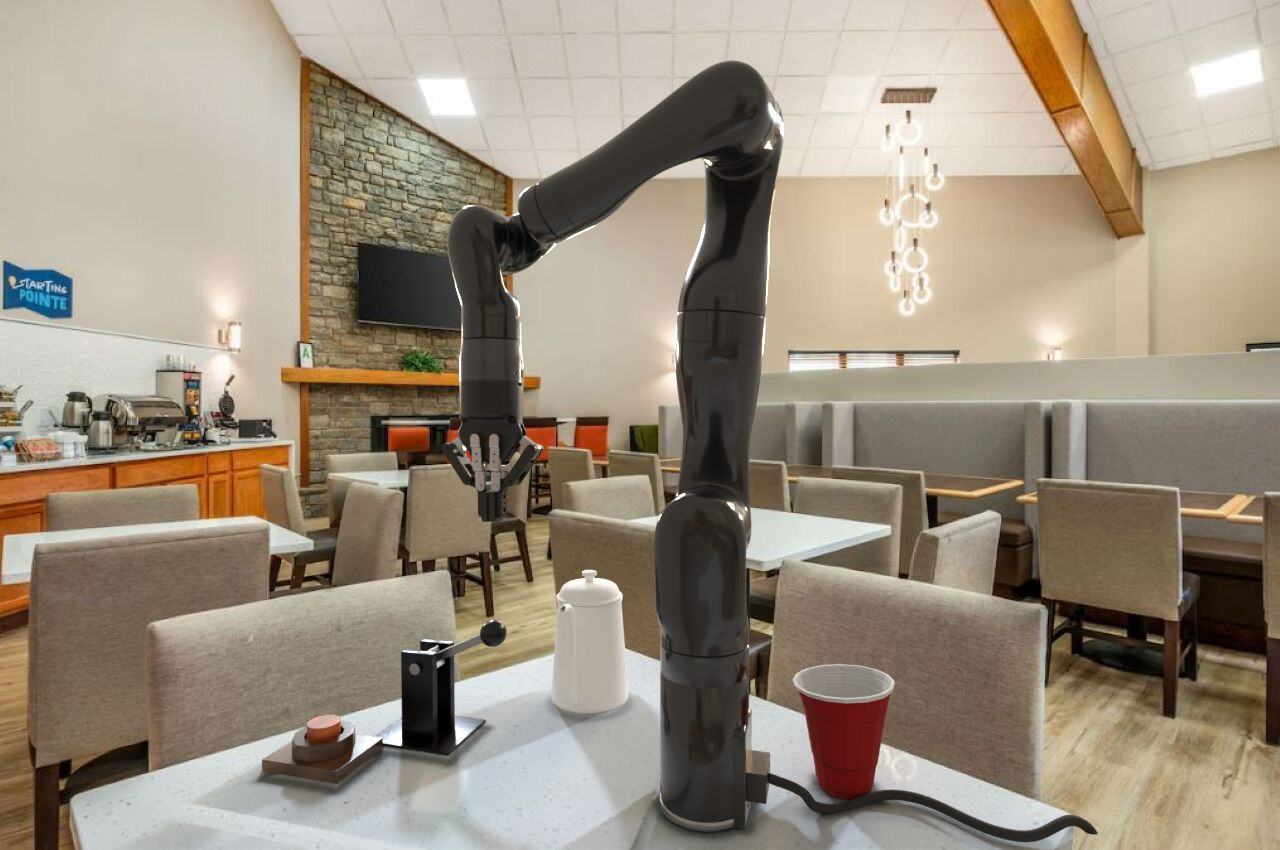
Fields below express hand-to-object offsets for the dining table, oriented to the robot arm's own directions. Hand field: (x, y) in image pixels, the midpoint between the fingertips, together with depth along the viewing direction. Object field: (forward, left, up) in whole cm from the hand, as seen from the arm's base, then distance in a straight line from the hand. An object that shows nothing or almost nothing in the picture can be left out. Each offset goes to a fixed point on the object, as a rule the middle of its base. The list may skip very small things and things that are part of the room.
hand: (492, 520), depth 82 cm
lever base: (+9, 0, -28) cm, 29 cm away
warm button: (+17, +9, -24) cm, 31 cm away
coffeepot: (-7, -15, -28) cm, 33 cm away
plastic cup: (-41, -3, -28) cm, 50 cm away
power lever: (+4, 0, -17) cm, 18 cm away
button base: (+17, +9, -28) cm, 34 cm away
